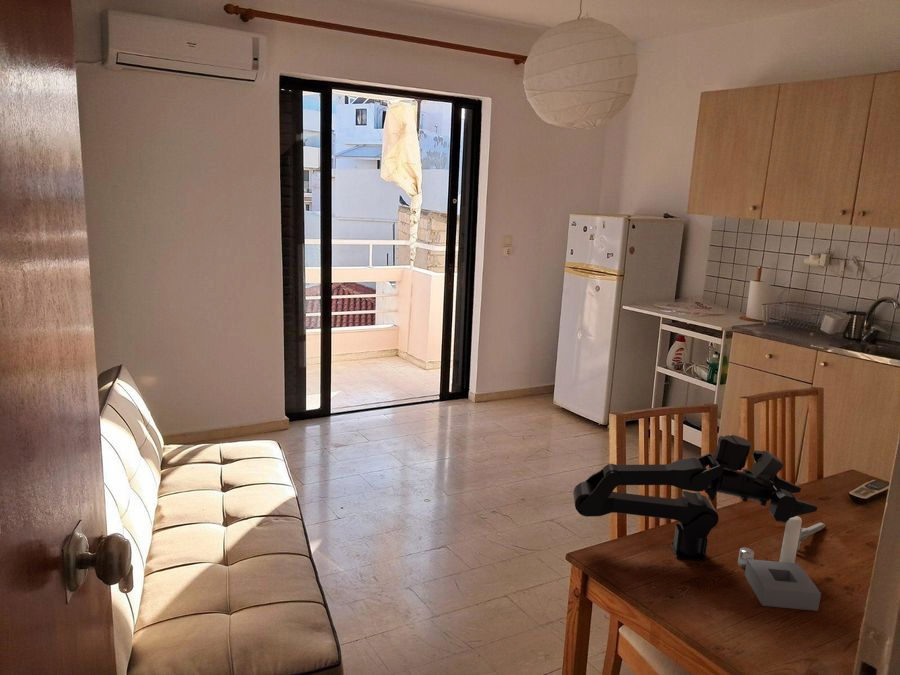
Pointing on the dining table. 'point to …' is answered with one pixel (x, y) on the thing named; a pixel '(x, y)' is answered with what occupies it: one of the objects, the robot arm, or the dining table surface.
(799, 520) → the ivory pin
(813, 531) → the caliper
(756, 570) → the hole block
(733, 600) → the dining table surface
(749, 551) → the short stub
